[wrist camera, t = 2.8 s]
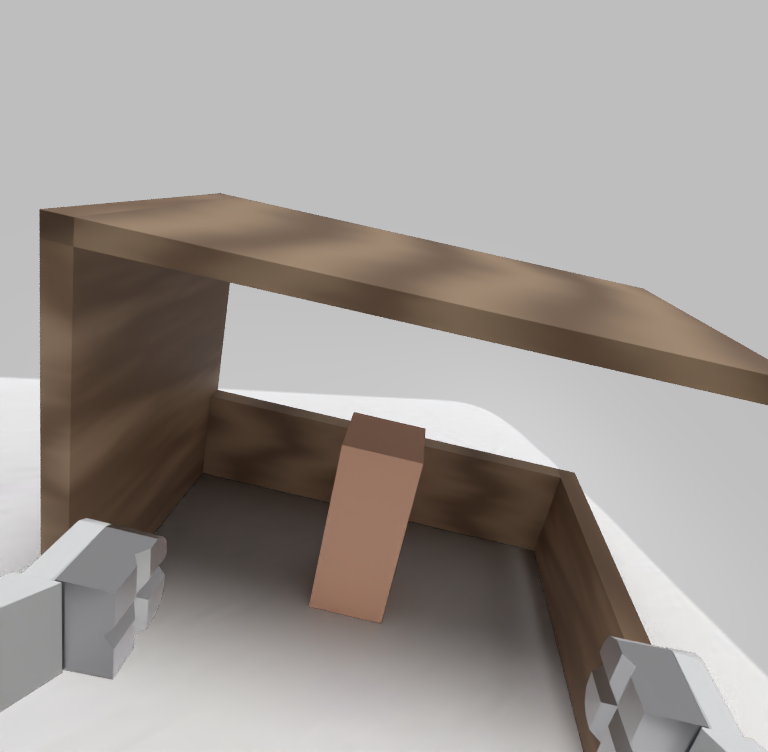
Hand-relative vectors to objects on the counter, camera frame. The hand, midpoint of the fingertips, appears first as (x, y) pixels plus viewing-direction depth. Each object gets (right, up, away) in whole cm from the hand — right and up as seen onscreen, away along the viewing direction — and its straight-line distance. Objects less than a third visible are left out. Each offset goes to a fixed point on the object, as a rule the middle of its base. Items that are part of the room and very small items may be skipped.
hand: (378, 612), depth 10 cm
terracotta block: (-2, -8, +22) cm, 24 cm away
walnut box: (-2, -8, +23) cm, 24 cm away
